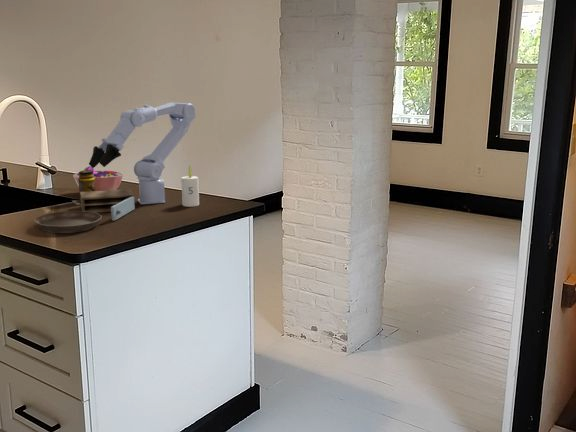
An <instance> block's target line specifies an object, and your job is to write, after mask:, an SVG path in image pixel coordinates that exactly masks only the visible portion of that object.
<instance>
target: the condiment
mask: <svg viewBox="0 0 576 432" xmlns="http://www.w3.org/2000/svg"><path fill="white" fill-rule="evenodd" d="M78 173H79V179H78V182H79V186H78V192H79V193H78V194H79V199H78V200H76V199H75V200H72V202H73V203H74V204H75V205H78V206H79V205H81V204H80V203H81V195H80V192H90V191H96V188H95V178H94V177H93V176H94V175H93V171H91V170H85V171H84V170H79V172H78Z"/></svg>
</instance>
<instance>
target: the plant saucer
mask: <svg viewBox="0 0 576 432" xmlns="http://www.w3.org/2000/svg"><path fill="white" fill-rule="evenodd" d="M102 217H103V215H101V214H100V213H99V212H97V213H94V212H87V211H82V210H67V211H59V212H58V211H56V212H50V213H45V214H42V215H39V216H37V217H36V218H35V219H34V223H35V224H36V225H37V226H38V228H40V229H42V230H43V231H44V232H47V233H53V234H71V233H72V234H73V233H79V232H85V231H88V230H90V229H93V228H94V227H96V226H97V225H99V223H100V221H101V220H102Z"/></svg>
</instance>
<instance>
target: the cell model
mask: <svg viewBox="0 0 576 432" xmlns="http://www.w3.org/2000/svg"><path fill="white" fill-rule="evenodd" d="M85 170H91V171H93V175H94V176H93V177H94V178H95V188H96V191H106V190H118V188H119V187H120V185H121V182H122V179H123V177H124V175H123V174H122V173H121V172H119V171H114V170H94V168H93V167H91V166H90V165H89V166H87V167H85V168H84V169H83V171H85ZM72 176H73V178H74V180H75V183H76V184H77V186H78V187H79V182H78V179H79V172H76V173H74V174H73V175H72Z"/></svg>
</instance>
